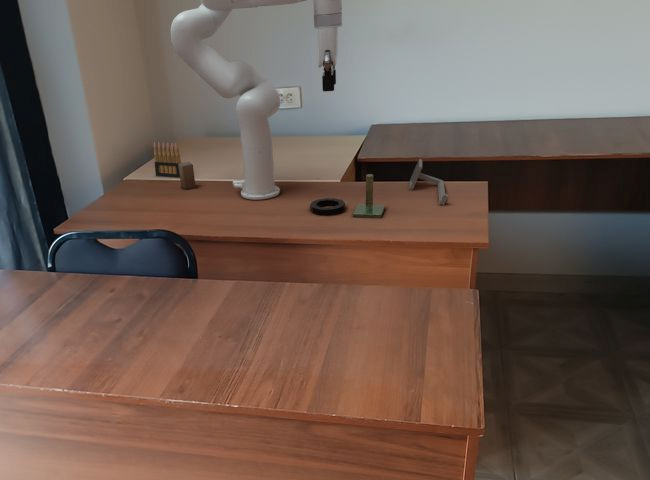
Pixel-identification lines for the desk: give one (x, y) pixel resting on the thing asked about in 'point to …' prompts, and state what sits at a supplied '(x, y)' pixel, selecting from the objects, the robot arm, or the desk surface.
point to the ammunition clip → (167, 160)
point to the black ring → (319, 210)
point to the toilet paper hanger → (422, 176)
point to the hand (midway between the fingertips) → (329, 87)
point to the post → (369, 203)
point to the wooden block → (186, 175)
